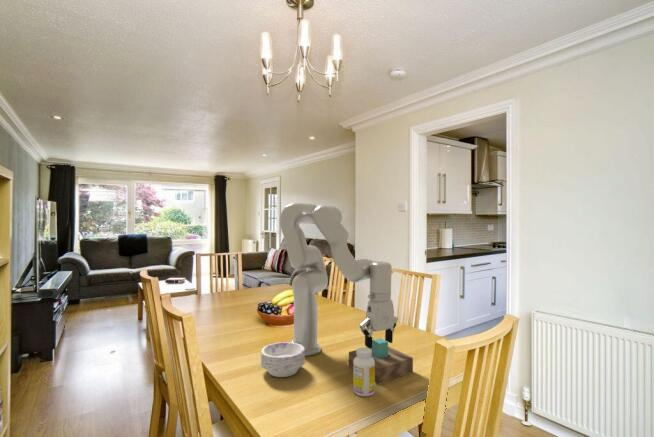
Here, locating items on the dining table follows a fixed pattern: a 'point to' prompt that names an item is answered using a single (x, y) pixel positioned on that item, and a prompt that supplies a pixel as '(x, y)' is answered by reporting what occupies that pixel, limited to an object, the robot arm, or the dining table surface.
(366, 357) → the supplement bottle
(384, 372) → the socket block
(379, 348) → the peg
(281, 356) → the paper bowls
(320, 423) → the dining table surface
